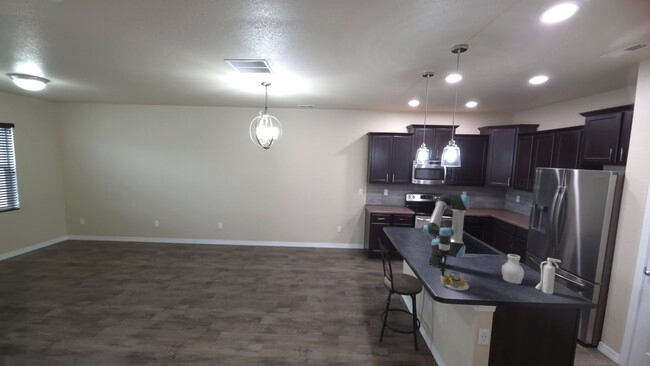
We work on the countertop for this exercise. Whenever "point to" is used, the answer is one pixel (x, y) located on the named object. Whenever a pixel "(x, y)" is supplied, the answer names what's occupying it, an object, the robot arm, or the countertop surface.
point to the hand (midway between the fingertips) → (442, 279)
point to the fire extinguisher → (547, 276)
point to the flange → (456, 283)
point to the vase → (513, 270)
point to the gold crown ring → (451, 280)
